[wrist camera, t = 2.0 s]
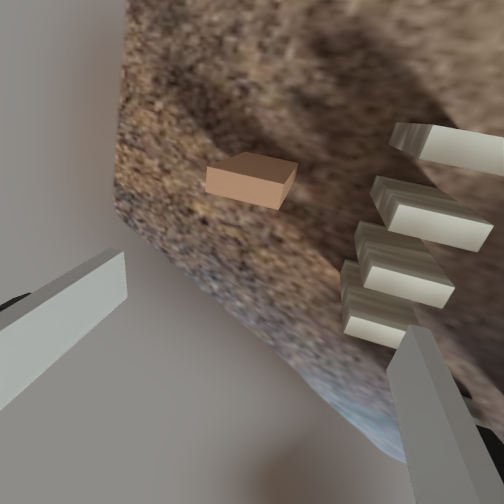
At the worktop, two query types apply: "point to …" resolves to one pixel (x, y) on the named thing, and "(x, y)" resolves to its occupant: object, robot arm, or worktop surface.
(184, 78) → the worktop surface
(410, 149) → the domino
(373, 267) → the domino
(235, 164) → the domino end
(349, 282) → the domino
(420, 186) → the domino
